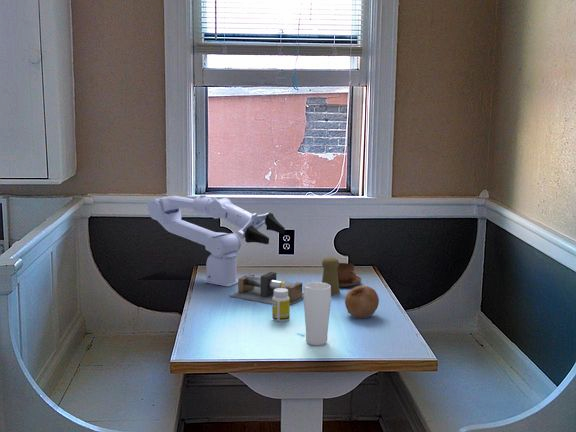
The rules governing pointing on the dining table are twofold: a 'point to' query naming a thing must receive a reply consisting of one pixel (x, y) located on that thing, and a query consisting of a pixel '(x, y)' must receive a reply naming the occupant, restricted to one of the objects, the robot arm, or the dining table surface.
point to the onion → (361, 301)
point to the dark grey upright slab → (264, 283)
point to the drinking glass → (317, 312)
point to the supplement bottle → (280, 305)
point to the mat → (258, 296)
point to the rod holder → (270, 286)
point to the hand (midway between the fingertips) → (276, 236)
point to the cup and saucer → (347, 275)
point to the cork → (331, 274)
